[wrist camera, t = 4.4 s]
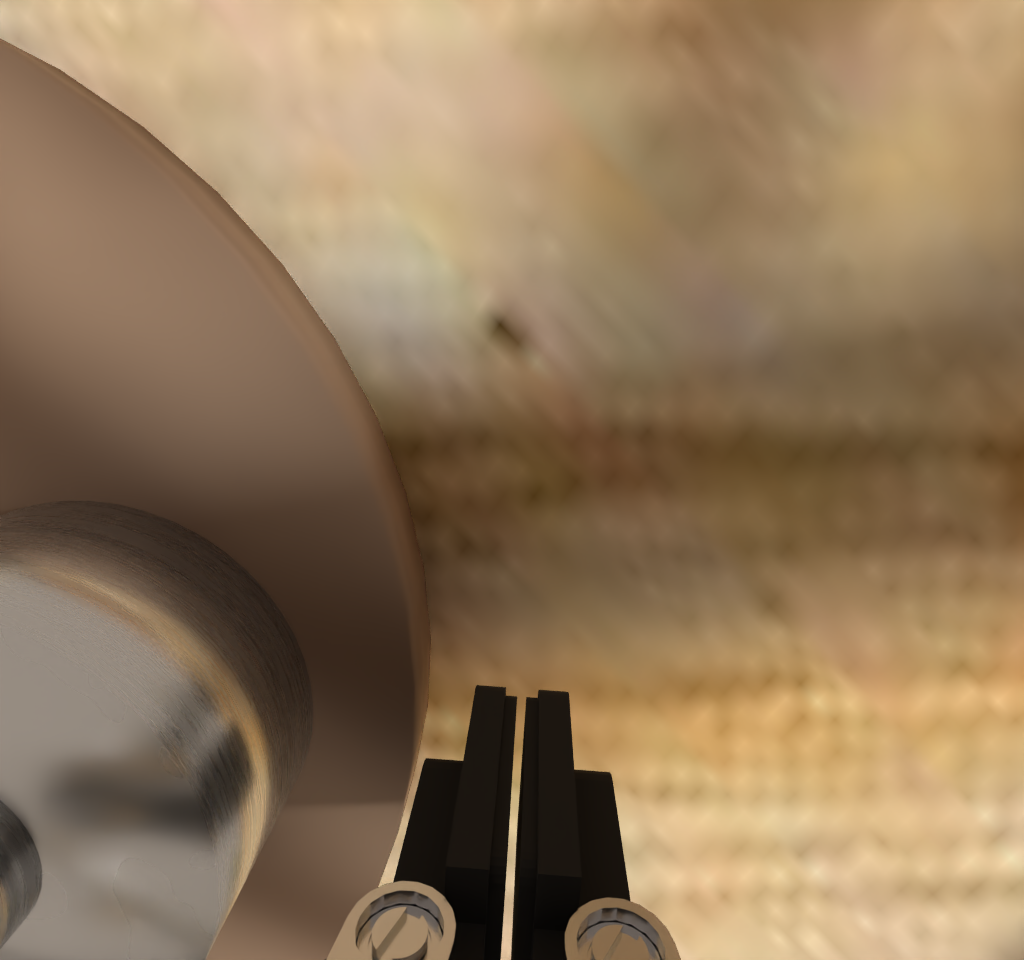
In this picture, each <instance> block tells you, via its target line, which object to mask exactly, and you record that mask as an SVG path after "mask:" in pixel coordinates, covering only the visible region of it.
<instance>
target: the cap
mask: <svg viewBox="0 0 1024 960" xmlns="http://www.w3.org/2000/svg"><path fill="white" fill-rule="evenodd" d="M312 728H313V700H312V690H311V683H310V679H309V675H308V671H307V667H306V663H305V660H304V657H303V655H302V652H301V650H300V647H299V645H298V642H297V640H296V637H295V635H294V633H293V632H292V630H291V628H290V626H289V624H288V623H287V621H286V619H285V617H284V615H283V614H282V612H281V611H280V610H279V608H278V607H277V605H276V604H275V603H274V601H273V600H272V599H271V597H270V596H269V595H268V593H267V592H266V591H265V590H264V588H263V587H262V586H261V585H260V584H259V583H258V582H257V581H256V580H255V579H254V578H253V577H252V576H251V575H250V573H249V572H248V571H247V570H246V569H244V568H243V567H242V566H241V565H240V564H238V563H237V562H236V561H235V560H234V559H233V558H231V557H230V556H229V555H228V554H227V553H225V552H224V551H223V550H221V549H220V548H218V547H217V546H215V545H214V544H212V543H211V542H209V541H208V540H206V539H205V538H203V537H202V536H200V535H198V534H196V533H195V532H193V531H191V530H189V529H187V528H185V527H183V526H181V525H179V524H177V523H175V522H173V521H170V520H168V519H165V518H162V517H160V516H157V515H154V514H152V513H149V512H146V511H142V510H138V509H135V508H131V507H127V506H123V505H119V504H111V503H103V502H95V501H58V502H51V503H43V504H36V505H32V506H29V507H25V508H21V509H18V510H14V511H11V512H8V513H6V514H3V515H1V516H0V960H206V958H207V956H208V954H209V952H210V950H211V948H212V946H213V944H214V942H215V940H216V938H217V936H218V934H219V932H220V930H221V928H222V926H223V924H224V922H225V920H226V918H227V916H228V915H229V913H230V911H231V909H232V907H233V905H234V903H235V901H236V899H237V897H238V895H239V893H240V891H241V889H242V887H243V885H244V883H245V881H246V879H247V877H248V875H249V873H250V871H251V869H252V867H253V865H254V863H255V861H256V859H257V857H258V856H259V854H260V852H261V850H262V848H263V846H264V844H265V842H266V840H267V838H268V836H269V834H270V832H271V830H272V828H273V826H274V824H275V822H276V820H277V818H278V816H279V814H280V812H281V810H282V808H283V806H284V804H285V802H286V800H287V799H288V797H289V795H290V793H291V791H292V789H293V787H294V785H295V783H296V781H297V779H298V777H299V775H300V773H301V770H302V768H303V765H304V762H305V759H306V757H307V754H308V750H309V745H310V740H311V735H312Z"/></svg>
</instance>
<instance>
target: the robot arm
mask: <svg viewBox="0 0 1024 960" xmlns="http://www.w3.org/2000/svg"><path fill="white" fill-rule="evenodd" d="M505 695H506V687H493V686H480V685H477V686H476V689H475V695H474V701H473V707H472V713H471V719H470V725H469V731H468V737H467V743H466V748H465V754H464V760H463V761H455V760H442V759H429V758H426V759H425V761H424V764H423V768H422V772H421V776H420V779H419V783H418V787H417V791H416V795H415V799H414V803H413V807H412V811H411V815H410V819H409V823H408V827H407V831H406V835H405V839H404V842H403V846H402V850H401V854H400V858H399V862H398V866H397V870H396V874H395V878H394V882H393V883H388V884H385V885H382V886H380V887H378V888H376V889H374V890H372V891H370V892H369V893H368V894H366V895H365V896H364V897H363V898H362V899H360V900H359V901H358V902H357V903H356V905H355V906H354V908H353V909H352V910H351V912H350V913H349V915H348V916H347V918H346V920H345V923H344V925H343V927H342V929H341V931H340V933H339V935H338V937H337V939H336V941H335V943H334V945H333V947H332V949H331V951H330V953H329V955H328V957H327V959H325V960H500V958H501V943H502V928H503V913H504V898H505V883H506V867H507V852H508V835H509V819H510V803H511V786H512V770H513V754H514V737H515V721H516V704H517V697H516V696H505ZM511 960H681V958H680V956H679V953H678V950H677V947H676V945H675V942H674V941H673V939H672V937H671V935H670V933H669V931H668V929H667V928H666V926H665V925H664V924H663V923H662V922H661V921H660V920H659V919H658V918H657V917H656V916H655V915H654V914H653V913H651V912H650V911H648V910H647V909H645V908H644V907H642V906H641V905H639V904H636V903H633V902H631V901H630V895H629V888H628V881H627V875H626V868H625V861H624V855H623V848H622V841H621V834H620V828H619V821H618V814H617V807H616V801H615V794H614V787H613V781H612V776H611V774H610V772H598V771H585V770H574V760H573V746H572V731H571V717H570V703H569V693H568V692H561V691H548V690H539V691H538V698H530V697H527V698H526V711H525V725H524V739H523V754H522V768H521V782H520V796H519V810H518V825H517V843H516V864H515V886H514V908H513V930H512V952H511Z"/></svg>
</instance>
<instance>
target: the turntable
mask: <svg viewBox="0 0 1024 960" xmlns="http://www.w3.org/2000/svg"><path fill="white" fill-rule="evenodd" d="M58 501H95V502H103V503H111V504H119V505H123V506H127V507H131V508H135V509H138V510H142V511H146V512H149V513H152V514H154V515H157V516H160V517H162V518H165V519H168V520H170V521H173V522H175V523H177V524H179V525H181V526H183V527H185V528H187V529H189V530H191V531H193V532H195V533H196V534H198V535H200V536H202V537H203V538H205V539H206V540H208V541H209V542H211V543H212V544H214V545H215V546H217V547H218V548H220V549H221V550H223V551H224V552H225V553H227V554H228V555H229V556H230V557H231V558H233V559H234V560H235V561H236V562H237V563H238V564H240V565H241V566H242V567H243V568H244V569H246V570H247V571H248V572H249V573H250V575H251V576H252V577H253V578H254V579H255V580H256V581H257V582H258V583H259V584H260V585H261V586H262V587H263V588H264V590H265V591H266V592H267V593H268V595H269V596H270V597H271V599H272V600H273V601H274V603H275V604H276V605H277V607H278V608H279V610H280V611H281V612H282V614H283V615H284V617H285V619H286V621H287V623H288V624H289V626H290V628H291V630H292V632H293V633H294V635H295V637H296V640H297V642H298V645H299V647H300V650H301V652H302V655H303V657H304V660H305V663H306V667H307V671H308V675H309V679H310V683H311V690H312V700H313V728H312V735H311V740H310V745H309V750H308V754H307V757H306V759H305V762H304V765H303V768H302V770H301V773H300V775H299V777H298V779H297V781H296V783H295V785H294V787H293V789H292V791H291V793H290V795H289V797H288V799H287V800H286V802H285V804H284V806H283V808H282V810H281V812H280V814H279V816H278V818H277V820H276V822H275V824H274V826H273V828H272V830H271V832H270V834H269V836H268V838H267V840H266V842H265V844H264V846H263V848H262V850H261V852H260V854H259V856H258V857H257V859H256V861H255V863H254V865H253V867H252V869H251V871H250V873H249V875H248V877H247V879H246V881H245V883H244V885H243V887H242V889H241V891H240V893H239V895H238V897H237V899H236V901H235V903H234V905H233V907H232V909H231V911H230V913H229V915H228V916H227V918H226V920H225V922H224V924H223V926H222V928H221V930H220V932H219V934H218V936H217V938H216V940H215V942H214V944H213V946H212V948H211V950H210V952H209V954H208V956H207V958H206V960H325V959H327V957H328V955H329V953H330V951H331V949H332V947H333V945H334V943H335V941H336V939H337V937H338V935H339V933H340V931H341V929H342V927H343V925H344V923H345V920H346V918H347V916H348V915H349V913H350V912H351V910H352V909H353V908H354V906H355V905H356V903H357V902H358V901H359V900H360V899H362V898H363V897H364V896H365V895H366V894H368V893H369V892H370V891H372V890H374V889H376V888H378V885H379V883H380V880H381V877H382V875H383V872H384V869H385V866H386V864H387V861H388V858H389V856H390V853H391V850H392V847H393V845H394V842H395V839H396V837H397V834H398V831H399V827H400V823H401V819H402V816H403V812H404V808H405V805H406V801H407V797H408V793H409V790H410V786H411V782H412V779H413V775H414V771H415V767H416V763H417V758H418V753H419V748H420V742H421V737H422V732H423V727H424V722H425V717H426V712H427V707H428V691H429V669H430V647H431V635H430V625H429V615H428V605H427V595H426V585H425V574H424V566H423V562H422V558H421V554H420V550H419V545H418V541H417V537H416V533H415V529H414V525H413V520H412V516H411V512H410V508H409V504H408V500H407V496H406V492H405V489H404V487H403V484H402V482H401V479H400V476H399V474H398V471H397V469H396V466H395V463H394V461H393V458H392V456H391V453H390V450H389V448H388V445H387V443H386V440H385V437H384V435H383V432H382V430H381V427H380V424H379V422H378V419H377V417H376V415H375V413H374V411H373V409H372V407H371V405H370V403H369V402H368V400H367V398H366V396H365V394H364V392H363V390H362V389H361V387H360V385H359V383H358V381H357V379H356V377H355V375H354V374H353V372H352V370H351V368H350V366H349V364H348V362H347V361H346V359H345V357H344V355H343V353H342V351H341V349H340V347H339V346H338V344H337V342H336V340H335V339H334V337H333V336H332V334H331V333H330V331H329V330H328V329H327V327H326V326H325V324H324V323H323V321H322V320H321V319H320V317H319V316H318V314H317V313H316V312H315V310H314V309H313V307H312V306H311V304H310V303H309V302H308V300H307V299H306V297H305V296H304V294H303V293H302V292H301V290H300V289H299V287H298V286H297V284H296V283H295V282H294V280H293V279H292V277H291V276H290V275H289V273H288V272H287V270H286V269H285V267H284V266H283V265H282V263H281V262H280V261H279V260H278V259H277V258H276V257H275V256H274V254H273V253H272V252H271V251H270V250H269V249H268V248H267V247H266V246H265V244H264V243H263V242H262V241H261V240H260V239H259V238H258V237H257V236H256V234H255V233H254V232H253V231H252V230H251V229H250V228H249V227H248V226H247V224H246V223H245V222H244V221H243V220H242V219H241V218H240V217H239V216H238V214H237V213H236V212H235V211H234V210H233V209H232V208H231V207H230V205H229V204H228V203H227V202H226V201H225V200H224V199H223V198H222V197H221V195H220V194H219V193H218V192H217V191H216V190H214V189H213V188H212V187H211V186H210V185H209V184H208V183H206V182H205V181H204V180H203V179H202V178H201V177H200V176H198V175H197V174H196V173H195V172H194V171H193V170H192V169H191V168H189V167H188V166H187V165H186V164H185V163H184V162H183V161H181V160H180V159H179V158H178V157H177V156H176V155H175V154H173V153H172V152H171V151H170V150H169V149H168V148H167V147H166V146H164V145H163V144H162V143H161V142H160V141H159V140H158V139H156V138H155V137H154V136H153V135H152V134H151V133H150V132H148V131H147V130H146V129H145V128H144V127H143V126H141V125H140V124H138V123H137V122H135V121H134V120H132V119H131V118H130V117H128V116H127V115H125V114H124V113H122V112H121V111H119V110H118V109H116V108H115V107H114V106H112V105H111V104H109V103H108V102H106V101H105V100H103V99H102V98H100V97H99V96H98V95H96V94H95V93H93V92H92V91H90V90H89V89H87V88H86V87H84V86H83V85H82V84H80V83H79V82H77V81H76V80H74V79H73V78H71V77H70V76H68V75H67V74H66V73H64V72H63V71H61V70H60V69H58V68H56V67H54V66H52V65H50V64H48V63H46V62H44V61H42V60H40V59H38V58H36V57H35V56H33V55H31V54H29V53H27V52H25V51H23V50H21V49H19V48H17V47H15V46H13V45H12V44H10V43H8V42H6V41H4V40H2V39H0V516H1V515H3V514H6V513H8V512H11V511H14V510H18V509H21V508H25V507H29V506H32V505H36V504H43V503H51V502H58Z"/></svg>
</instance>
